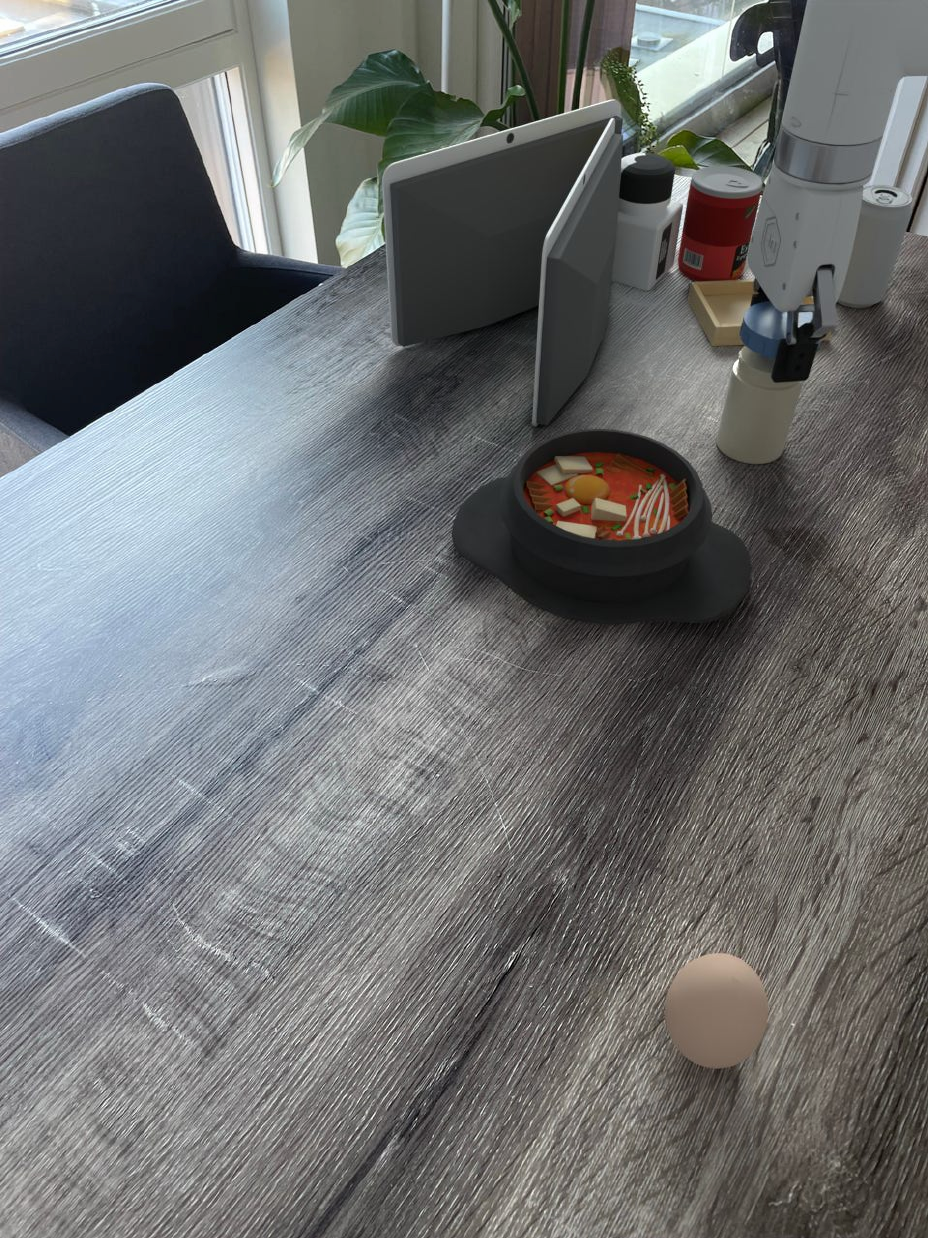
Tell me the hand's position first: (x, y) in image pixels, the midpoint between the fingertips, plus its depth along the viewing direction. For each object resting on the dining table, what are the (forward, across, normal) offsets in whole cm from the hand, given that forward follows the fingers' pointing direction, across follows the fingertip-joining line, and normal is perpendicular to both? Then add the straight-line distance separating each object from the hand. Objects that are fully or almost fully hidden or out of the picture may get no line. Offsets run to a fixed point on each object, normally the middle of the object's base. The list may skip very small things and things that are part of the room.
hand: (775, 355), depth 89 cm
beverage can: (+10, -27, +20) cm, 35 cm away
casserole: (+9, +15, -18) cm, 26 cm away
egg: (+9, +55, -20) cm, 60 cm away
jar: (+10, 0, 0) cm, 10 cm away
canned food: (+10, -35, +6) cm, 37 cm away
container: (+10, -35, -4) cm, 36 cm away
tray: (+10, -23, +8) cm, 26 cm away
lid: (-3, 0, 0) cm, 3 cm away
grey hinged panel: (+10, -23, -21) cm, 33 cm away
